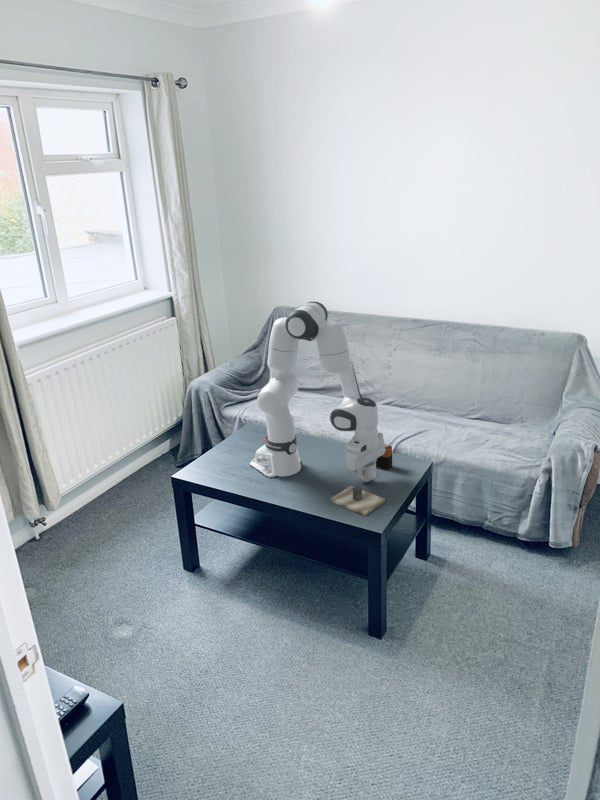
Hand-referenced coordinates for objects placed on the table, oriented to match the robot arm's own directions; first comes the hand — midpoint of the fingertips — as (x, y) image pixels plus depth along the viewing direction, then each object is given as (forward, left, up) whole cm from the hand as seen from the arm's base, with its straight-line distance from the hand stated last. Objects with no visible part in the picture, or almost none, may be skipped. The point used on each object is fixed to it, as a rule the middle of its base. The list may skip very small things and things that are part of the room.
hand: (366, 472), depth 238 cm
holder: (+6, -14, -4) cm, 16 cm away
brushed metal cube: (0, 0, -2) cm, 2 cm away
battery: (-3, +14, -5) cm, 15 cm away
